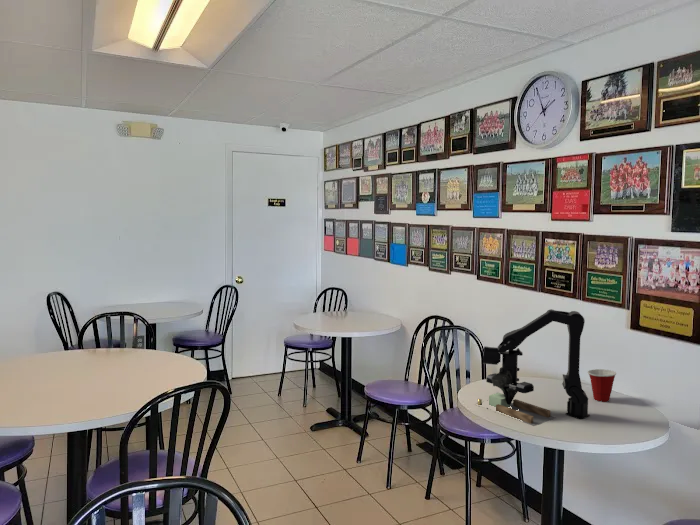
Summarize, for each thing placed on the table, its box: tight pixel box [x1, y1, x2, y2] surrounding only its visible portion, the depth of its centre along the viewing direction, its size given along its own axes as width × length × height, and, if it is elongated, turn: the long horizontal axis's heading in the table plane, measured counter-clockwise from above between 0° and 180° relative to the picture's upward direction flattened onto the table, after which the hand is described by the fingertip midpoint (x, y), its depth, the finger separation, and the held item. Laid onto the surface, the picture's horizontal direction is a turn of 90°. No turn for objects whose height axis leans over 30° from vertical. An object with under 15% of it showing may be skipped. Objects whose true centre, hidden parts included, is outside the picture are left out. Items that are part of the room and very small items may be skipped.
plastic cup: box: [587, 368, 617, 403], centre depth 222 cm, size 11×11×12 cm
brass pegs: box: [477, 398, 483, 405], centre depth 218 cm, size 2×14×2 cm, turn 125°
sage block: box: [488, 392, 511, 407], centre depth 214 cm, size 6×6×4 cm
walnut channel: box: [496, 398, 552, 424], centre depth 205 cm, size 16×12×2 cm
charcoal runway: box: [511, 402, 557, 427], centre depth 208 cm, size 28×14×1 cm, turn 35°
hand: (508, 404), depth 210 cm, fingers closed
